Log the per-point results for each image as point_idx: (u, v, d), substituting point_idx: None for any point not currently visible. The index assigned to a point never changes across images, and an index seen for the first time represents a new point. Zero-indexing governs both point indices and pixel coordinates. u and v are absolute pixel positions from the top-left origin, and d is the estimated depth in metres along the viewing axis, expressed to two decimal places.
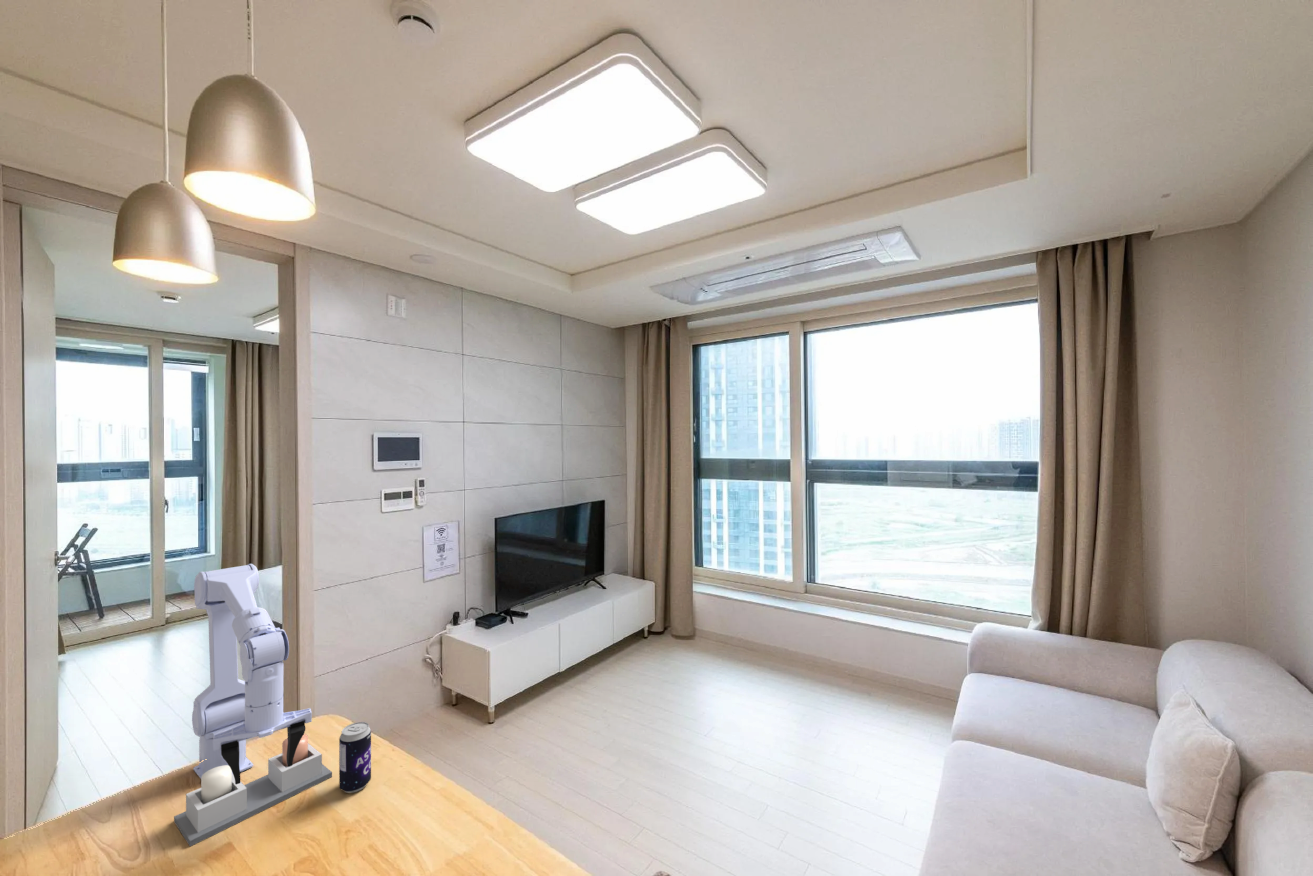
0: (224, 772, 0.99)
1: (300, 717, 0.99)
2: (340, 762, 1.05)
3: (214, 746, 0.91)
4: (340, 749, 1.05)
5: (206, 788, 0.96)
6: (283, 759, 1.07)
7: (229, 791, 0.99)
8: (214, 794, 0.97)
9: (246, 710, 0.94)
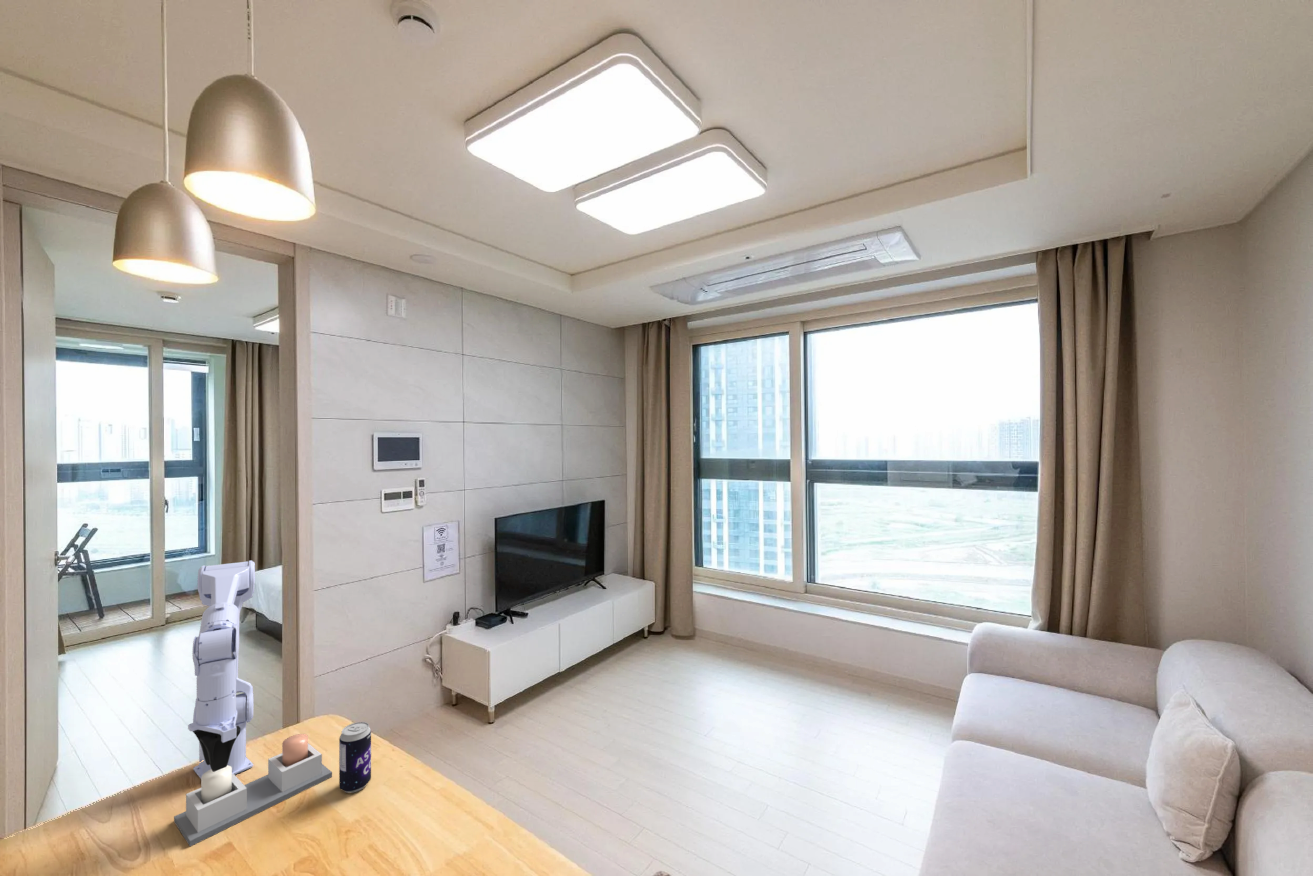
0: (224, 772, 0.99)
1: (217, 731, 0.94)
2: (340, 762, 1.05)
3: None
4: (340, 749, 1.05)
5: (206, 788, 0.96)
6: (283, 759, 1.07)
7: (229, 791, 0.99)
8: (214, 794, 0.97)
9: None
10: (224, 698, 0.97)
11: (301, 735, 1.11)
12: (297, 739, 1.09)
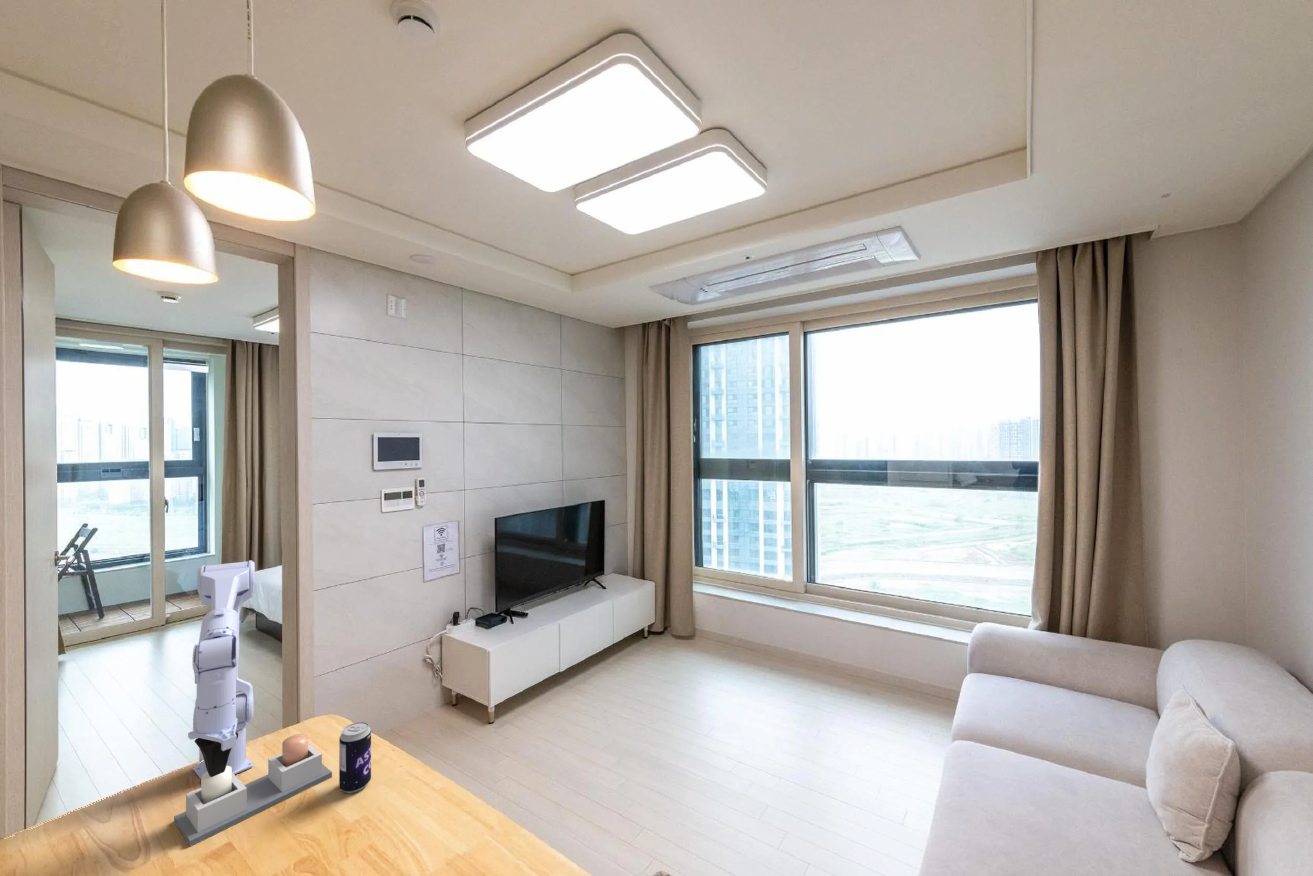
0: (224, 772, 0.99)
1: (217, 739, 0.94)
2: (340, 762, 1.05)
3: None
4: (340, 749, 1.05)
5: (206, 789, 0.96)
6: (283, 759, 1.07)
7: (229, 791, 0.99)
8: (214, 794, 0.97)
9: None
10: (224, 706, 0.97)
11: (301, 735, 1.11)
12: (297, 739, 1.09)
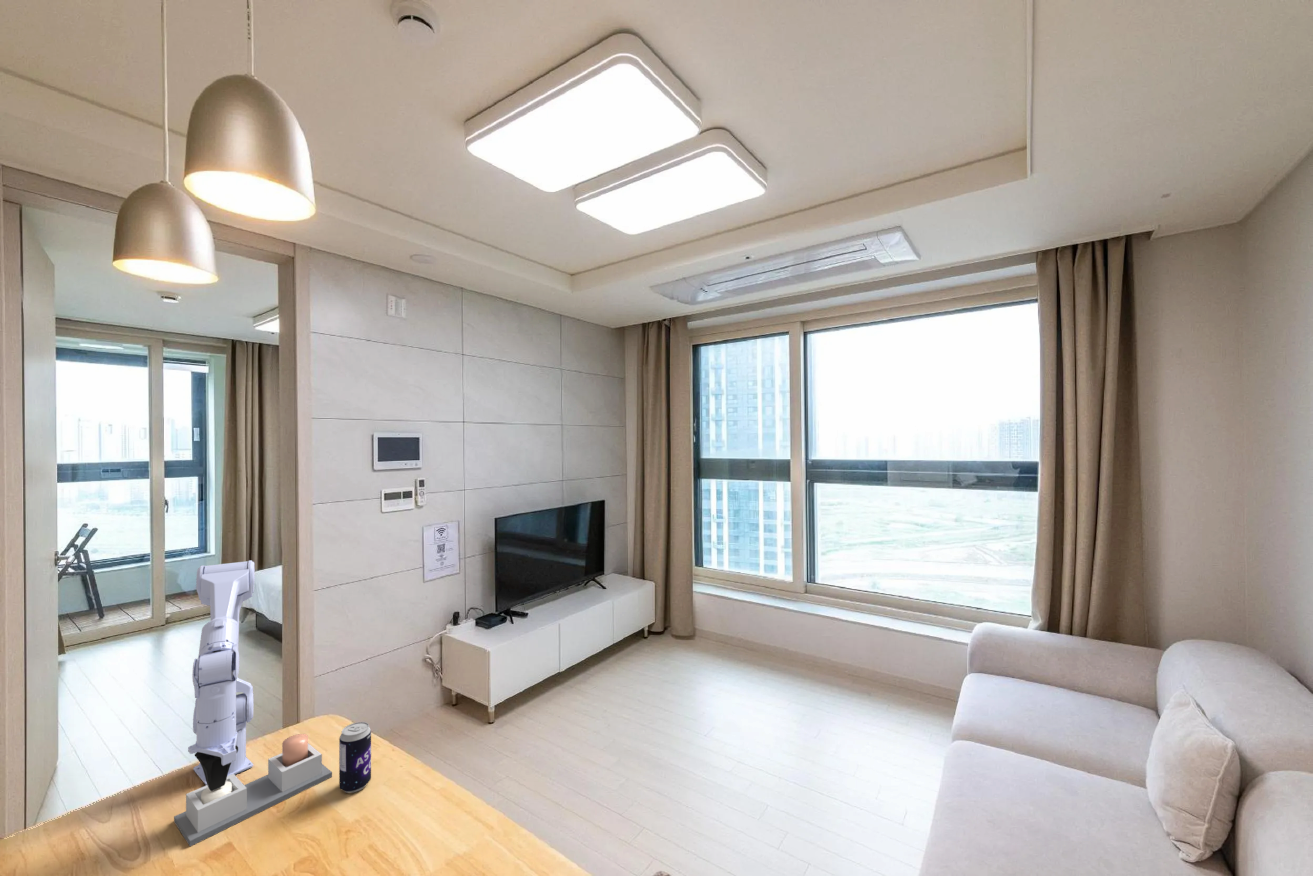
0: (224, 788, 0.99)
1: (217, 754, 0.94)
2: (340, 762, 1.05)
3: None
4: (340, 749, 1.05)
5: None
6: (283, 759, 1.07)
7: None
8: None
9: None
10: (224, 720, 0.97)
11: (301, 735, 1.11)
12: (297, 739, 1.09)
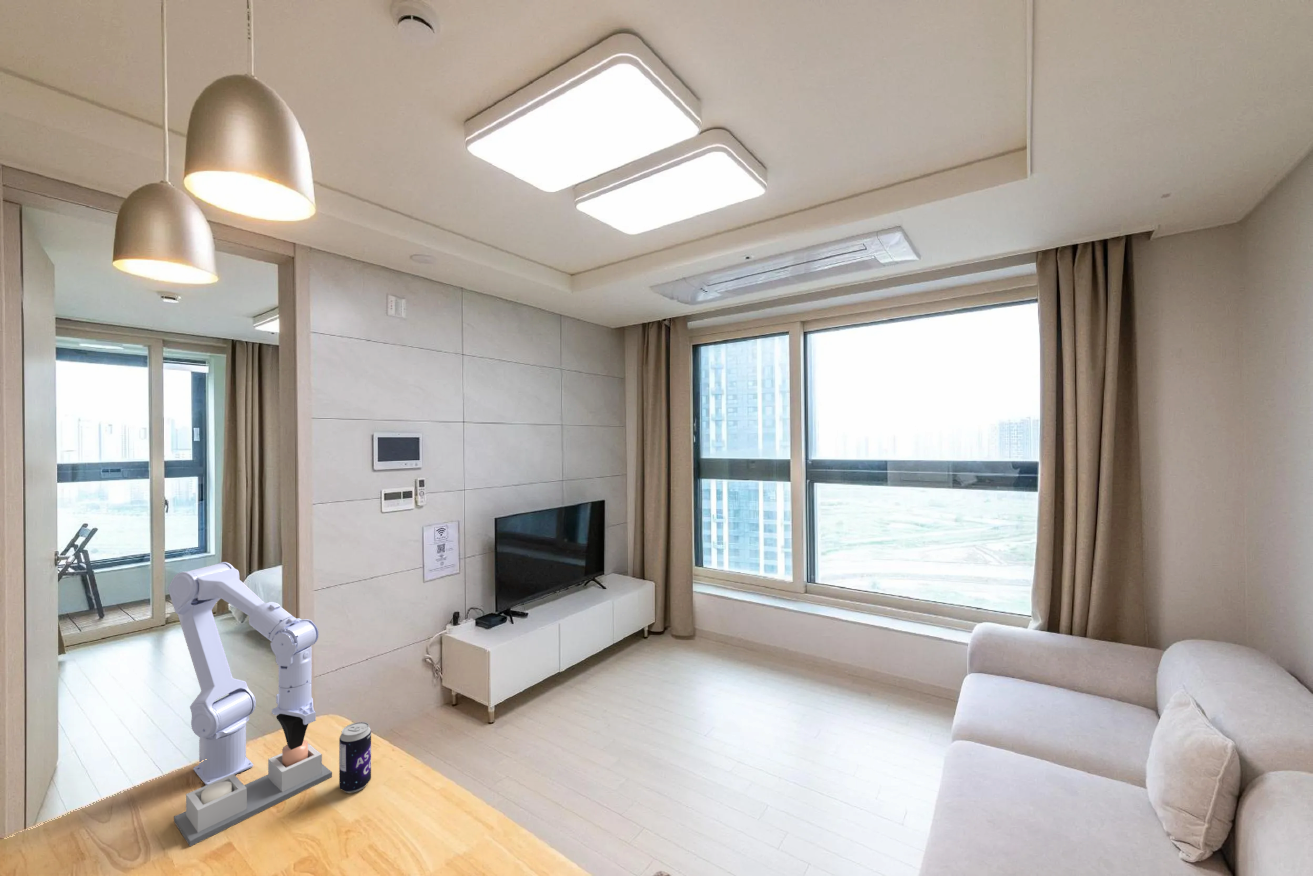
0: (224, 788, 0.99)
1: (299, 715, 1.05)
2: (340, 762, 1.05)
3: (276, 700, 1.12)
4: (340, 749, 1.05)
5: None
6: None
7: None
8: None
9: None
10: (303, 685, 1.08)
11: None
12: None
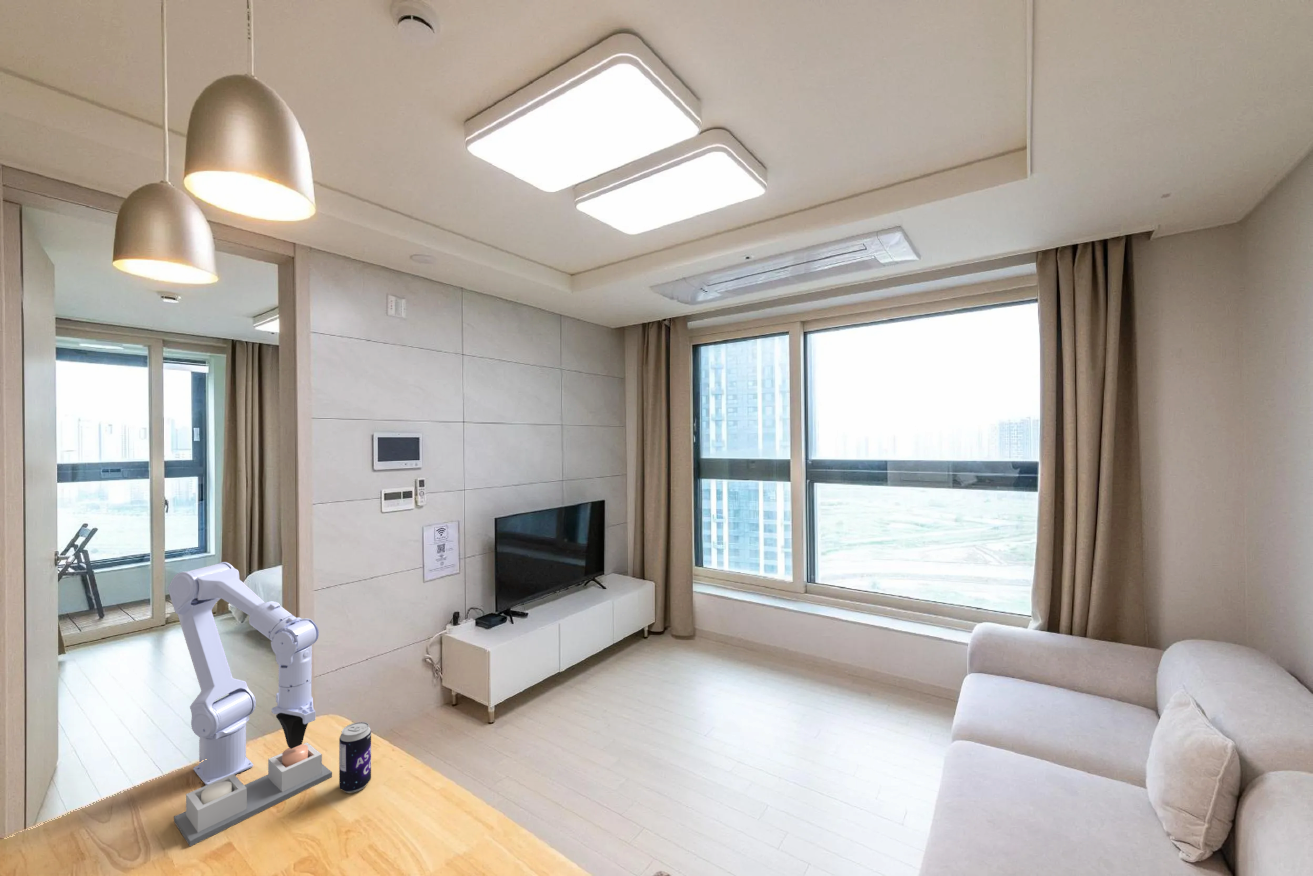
0: (224, 788, 0.99)
1: (299, 714, 1.05)
2: (340, 762, 1.05)
3: (276, 699, 1.12)
4: (340, 749, 1.05)
5: None
6: None
7: None
8: None
9: None
10: (303, 685, 1.08)
11: (301, 745, 1.11)
12: (297, 750, 1.09)
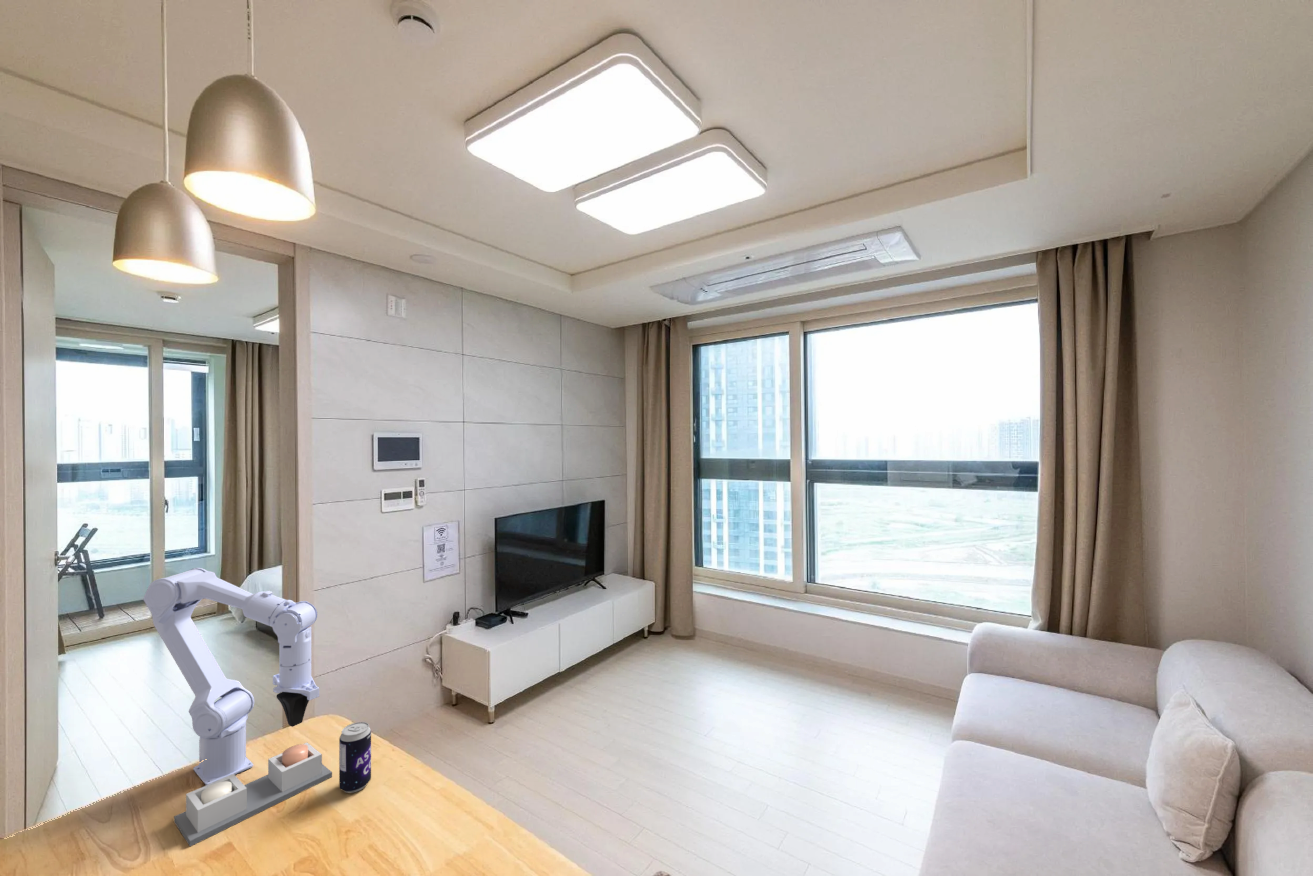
0: (224, 788, 0.99)
1: (303, 691, 1.09)
2: (340, 762, 1.05)
3: (273, 681, 1.15)
4: (340, 749, 1.05)
5: None
6: None
7: None
8: None
9: None
10: (304, 664, 1.11)
11: (301, 745, 1.11)
12: (297, 750, 1.09)
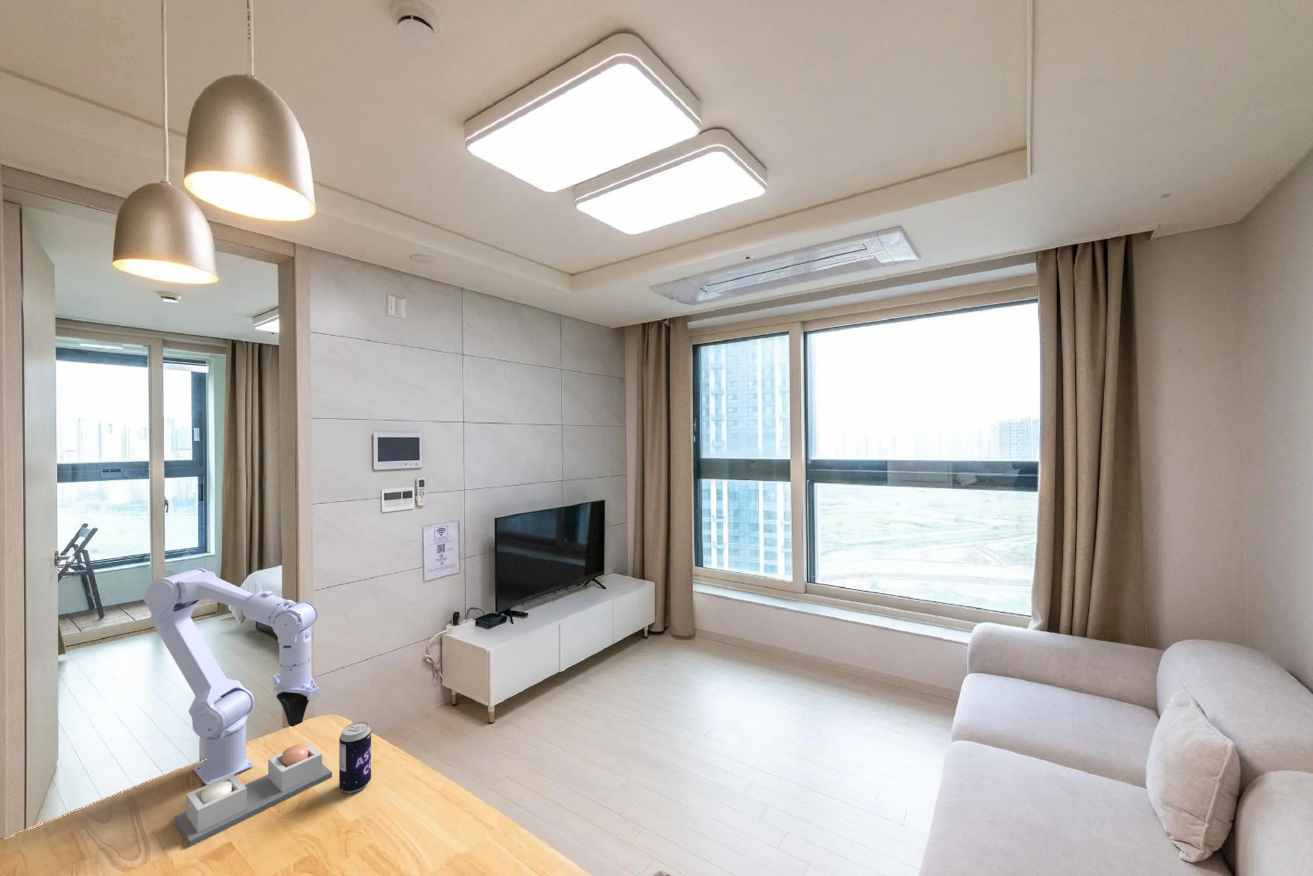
0: (224, 788, 0.99)
1: (303, 691, 1.09)
2: (340, 762, 1.05)
3: (273, 681, 1.15)
4: (340, 749, 1.05)
5: None
6: None
7: None
8: None
9: None
10: (304, 664, 1.11)
11: (301, 745, 1.11)
12: (297, 750, 1.09)
